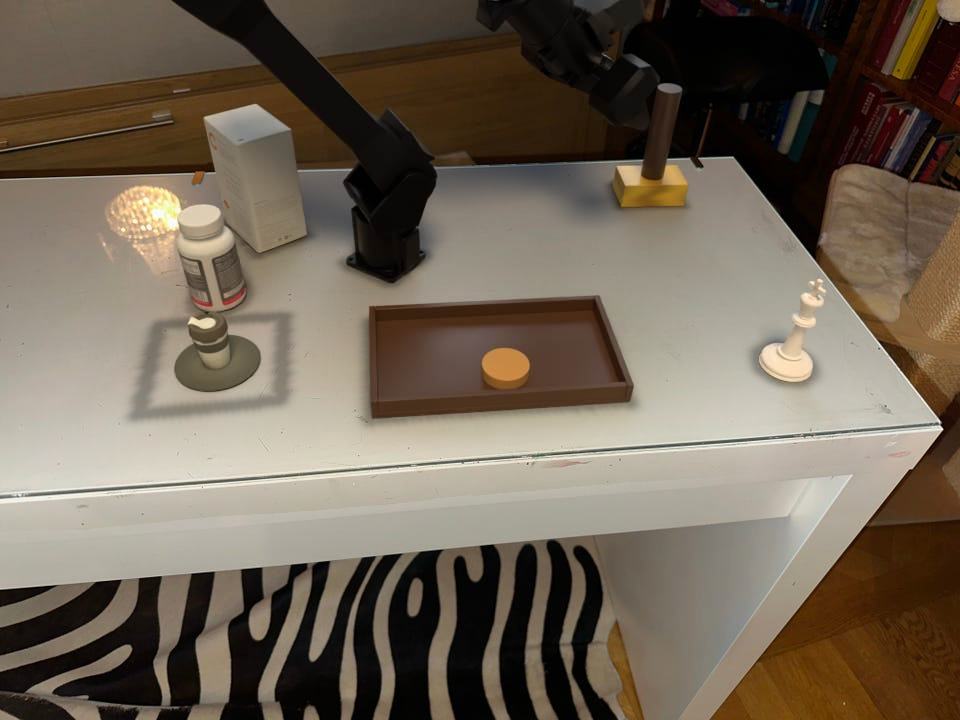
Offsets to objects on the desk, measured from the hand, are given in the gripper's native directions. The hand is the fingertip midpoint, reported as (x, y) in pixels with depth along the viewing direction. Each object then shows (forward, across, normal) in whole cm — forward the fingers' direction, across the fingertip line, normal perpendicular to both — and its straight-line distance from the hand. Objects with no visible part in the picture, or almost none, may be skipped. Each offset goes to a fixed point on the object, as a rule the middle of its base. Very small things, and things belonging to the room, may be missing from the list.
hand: (622, 109), depth 85 cm
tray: (-9, -20, +27) cm, 35 cm away
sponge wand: (+13, 0, +4) cm, 14 cm away
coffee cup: (-26, -9, +44) cm, 52 cm away
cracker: (-10, -22, +27) cm, 36 cm away
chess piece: (+9, -32, +9) cm, 34 cm away
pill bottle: (-24, +1, +42) cm, 49 cm away
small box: (-19, +11, +37) cm, 43 cm away
